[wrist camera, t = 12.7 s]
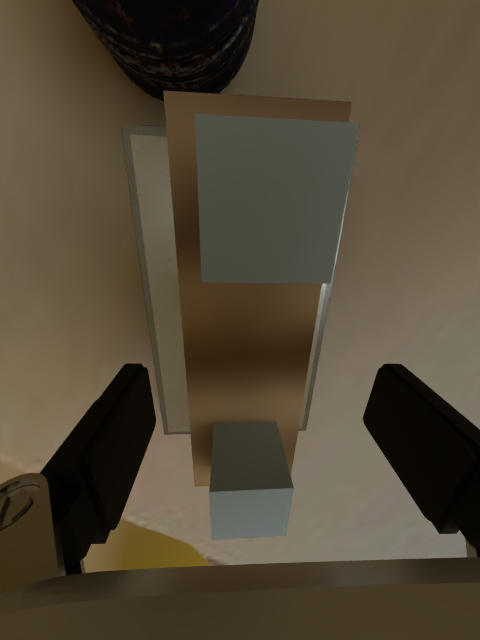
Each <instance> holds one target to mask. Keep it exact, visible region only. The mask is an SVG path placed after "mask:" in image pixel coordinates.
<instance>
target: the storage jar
mask: <svg viewBox="0 0 480 640" xmlns="http://www.w3.org/2000/svg"><path fill="white" fill-rule="evenodd" d="M72 1H73V3H74V4H75V5H76V7H77V8H78V10H79V11H80V12H81V14H82V15H83V17H84V18H85V20H86V21H87V23H88V24H89V26H90V27H91V29H92V30H93V32H94V33H95V35H96V36H97V37H98V39H99V40H100V41H101V42H102V43H103V44H104V45H105V47H106V48H107V49H108V50H109V52H110V53H111V55H112V56H113V58H114V59H115V61H116V62H117V64H118V65H119V67H120V68H121V69H122V70H123V71H124V73H125V74H126V75H127V76H128V77H129V78H130V79H131V80H132V81H133V82H134V83H135V84H136V85H137V86H138V87H140V88H141V89H142V90H144V91H145V92H147V93H148V94H150V95H151V96H153V97H155V98H157V99H160V100H162V101H164V93H163V91H178V92H195V93H211V94H218V93H220V92H221V91H222V90H223V89H224V88H225V87H226V86H227V85H228V84H229V83H230V82H231V81H232V79H233V78H234V77H235V75H236V74H237V73H238V71H239V69H240V67H241V65H242V64H243V62H244V60H245V57H246V55H247V52H248V49H249V47H250V43H251V39H252V35H253V31H254V25H255V17H256V10H257V6H258V2H259V0H72Z"/></svg>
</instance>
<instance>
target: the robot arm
mask: <svg viewBox="0 0 480 640" xmlns="http://www.w3.org/2000/svg"><path fill="white" fill-rule="evenodd" d="M363 421H364V424H365V426H366V428H367V429H368V431H369V432H370V434H371V435H372V437H373V439H374V440H375V442H376V443H377V445H378V446H379V448H380V449H381V451H382V452H383V454H384V455H385V457H386V458H387V460H388V461H389V463H390V465H391V466H392V468H393V469H394V471H395V472H396V474H397V475H398V477H399V478H400V480H401V481H402V483H403V484H404V486H405V487H406V489H407V491H408V492H409V494H410V495H411V497H412V498H413V500H414V501H415V503H416V504H417V506H418V507H419V509H420V510H421V512H422V514H423V515H424V516H425V517H426V518H427V519H428V520H429V521H431V522H432V523H433V525H434V526H435V528H436V529H437V531H438V532H439V534H454V533H457V532H458V531H459V530H460V531H461V533H462V534H463V535H464V537H465V540H466V550H467V558H431V559H394V560H362V561H331V562H302V563H272V564H246V565H220V566H196V567H170V568H153V569H137V570H119V571H105V572H104V571H103V572H92V573H86V572H85V567H84V562H83V558H84V557H85V556H86V554H87V552H88V550H89V548H90V545H91V544H105V542H106V540H107V538H108V535H109V533H110V530H115V528H116V527H117V525H118V523H119V521H120V518H121V516H122V513H123V510H124V508H125V505H126V502H127V500H128V497H129V494H130V492H131V489H132V486H133V484H134V481H135V478H136V476H137V473H138V471H139V468H140V465H141V463H142V460H143V457H144V455H145V452H146V449H147V447H148V444H149V441H150V439H151V436H152V433H153V431H154V428H155V424H156V416H155V410H154V404H153V398H152V392H151V386H150V380H149V374H148V369H147V368H146V367H143V365H142V364H125V365H124V366H123V367H122V369H121V370H120V371H119V373H118V374H117V375H116V376H115V378H114V379H113V380H112V382H111V383H110V384H109V386H108V387H107V388H106V390H105V391H104V392H103V394H102V395H101V396H100V398H99V399H98V400H96V401H95V402H94V403H93V404H92V406H91V407H90V408H89V410H88V411H87V412H86V414H85V415H84V416H83V417H82V419H81V420H80V421H79V423H78V424H77V425H76V427H75V428H74V429H73V430H72V432H71V433H70V434H69V436H68V437H67V438H66V440H65V441H64V442H63V444H62V445H61V446H60V447H59V449H58V450H57V451H56V453H55V454H54V455H53V457H52V458H51V459H50V460H49V462H48V463H47V464H46V466H45V467H44V468H43V470H42V471H41V472H40V473H28V474H23V475H19V476H17V477H14V478H12V479H10V480H7V481H6V482H4V483H2V484H1V485H0V640H480V429H478V428H477V427H476V426H475V425H474V424H472V423H471V422H470V421H469V420H468V419H466V418H465V417H464V416H463V415H462V414H460V413H459V412H458V411H457V410H456V409H454V408H453V407H452V406H451V405H450V404H449V403H447V402H446V401H445V400H444V399H443V398H441V397H440V396H439V395H438V394H437V393H435V392H434V391H433V390H432V389H431V388H429V387H428V386H427V385H426V384H425V383H423V382H422V381H421V380H420V379H419V378H417V377H416V376H415V375H414V374H413V373H412V372H410V371H409V370H408V369H407V368H406V367H404V366H403V365H401V364H384V365H383V366H382V367H381V368H379V370H378V372H377V375H376V378H375V381H374V385H373V388H372V391H371V394H370V397H369V400H368V403H367V406H366V410H365V413H364V416H363Z"/></svg>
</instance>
